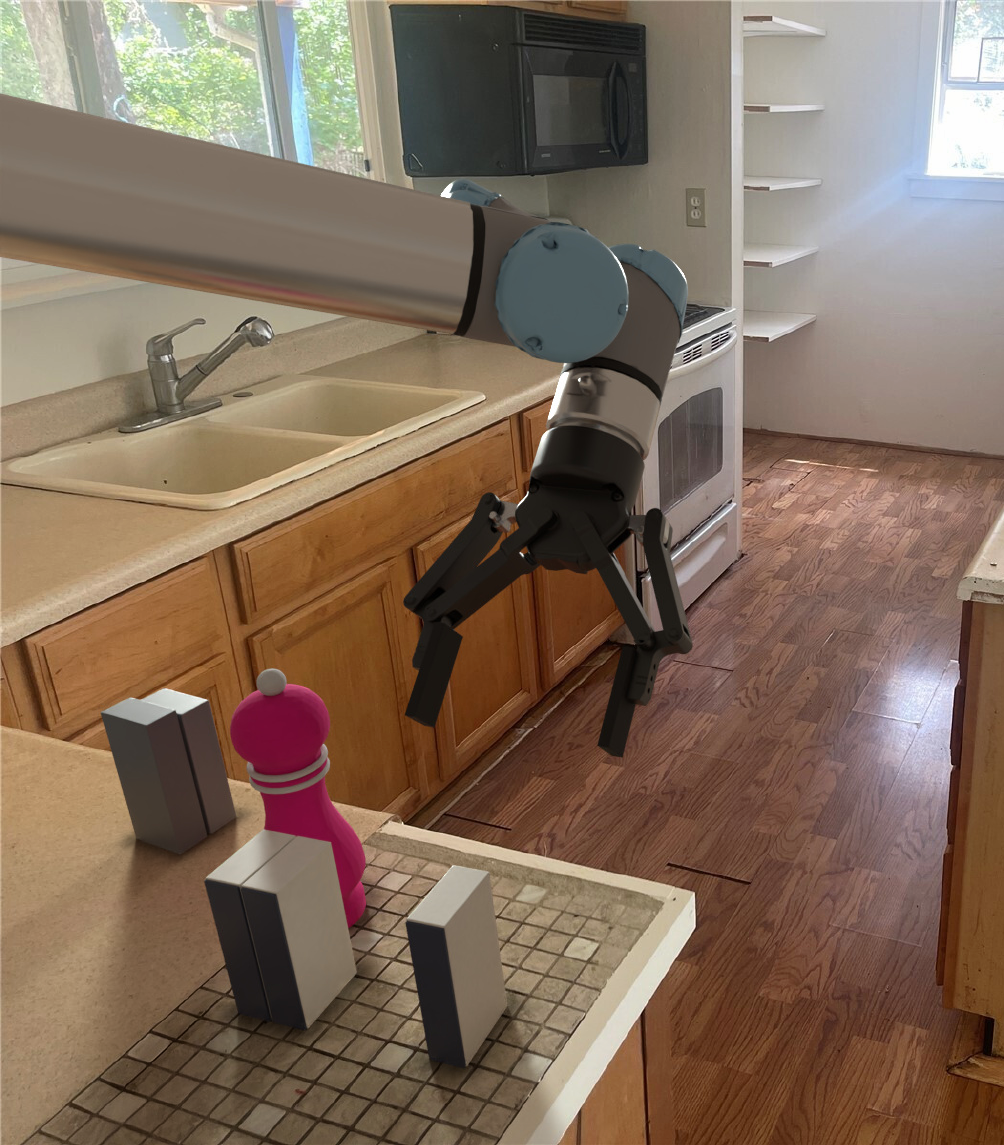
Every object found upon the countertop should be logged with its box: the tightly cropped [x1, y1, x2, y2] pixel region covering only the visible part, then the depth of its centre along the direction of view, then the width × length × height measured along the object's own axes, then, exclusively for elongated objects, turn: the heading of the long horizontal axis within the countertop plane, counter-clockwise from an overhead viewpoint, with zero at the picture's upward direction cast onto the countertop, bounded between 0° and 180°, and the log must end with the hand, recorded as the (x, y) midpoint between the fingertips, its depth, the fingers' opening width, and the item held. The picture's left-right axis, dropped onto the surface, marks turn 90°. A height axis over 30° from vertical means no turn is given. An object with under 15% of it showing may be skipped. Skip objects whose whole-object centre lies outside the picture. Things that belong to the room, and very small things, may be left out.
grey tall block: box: [203, 828, 358, 1031], centre depth 67 cm, size 5×5×11 cm
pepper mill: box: [229, 668, 367, 929], centre depth 73 cm, size 7×7×20 cm
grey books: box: [100, 687, 237, 855], centre depth 84 cm, size 5×5×12 cm
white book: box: [404, 864, 508, 1069], centre depth 64 cm, size 2×5×11 cm, turn 164°
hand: (512, 736), depth 69 cm, fingers open, 13 cm apart
